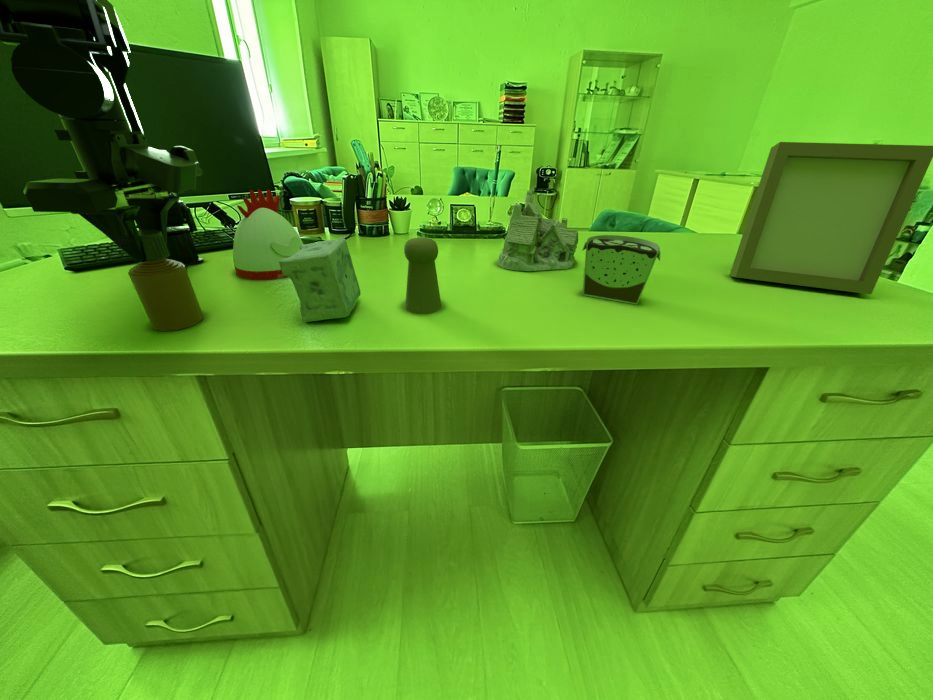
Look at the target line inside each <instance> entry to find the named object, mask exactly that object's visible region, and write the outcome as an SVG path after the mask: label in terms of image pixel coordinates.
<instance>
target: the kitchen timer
mask: <svg viewBox="0 0 933 700" xmlns="http://www.w3.org/2000/svg"><path fill="white" fill-rule="evenodd" d="M249 197H250V200H249V199H248V198H247V197H242V201H243V203H245V206H246V209H247V210H246V209H244V207H242V206H241V205H238V204H237V205H236V208H237V209H238V210H239V212H240V213H241V215H242V218H241V219H240V221H239V223H238V225H237V227H236V230H235V232H234V236H233V246H232V262H233V266H234V270H235V274H236V275H237V276H238V277H240V278H242V279H245V280H246V279H247V280H253V281H268V280H278V279H286V278H289V277H288V276H284V275H283V273H282V270H281V268H280V264H279V260H280V259H282V258H289V257H291V256H292V255H294V253H296V252H298V251H300V250H301V249H300V247H299V246H300V245H302V244H304V242H303V240H302V239H301V237H300V234H299V233H298V231H297V230H296V228H295V227H294V226H293V225H292V223H290V222H289V221H288V220H287V219H286V218H285V217H284V216H282V215H281V214H279V213H278V210H279V205H280V196H279V195H275V197H274V196H273V192H272V190H271V189H266V197H265V194H264V193H263V191H262V190H261V189H257V195H256V193H255V191H254V190H252V189H251V190H249Z"/></svg>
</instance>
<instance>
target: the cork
mask: <svg viewBox="0 0 933 700" xmlns="http://www.w3.org/2000/svg"><path fill="white" fill-rule="evenodd" d="M403 251H404V252H403V253H404V256H405V259H406V260H407V261H408V263H407V266H408V267H407V276H406V289H405V290H406V291H405V302H404V303H405V305H404V306H405V307H404V308H405V309H406V311H408V312H410V313H413V314H422V315H423V314H431V313H435V312H438V311H439V310H441V308H443V307H442V301H441V293H440V287H439V281H438V275H437V268H436V266H437V265H436V259H437V258H438V255H439V247H438V244H437V242H436V241H435V240H434V239H432V238H429V237H413V238H410V239H408V240H406V242H405V244H404V247H403Z"/></svg>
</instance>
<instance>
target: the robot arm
mask: <svg viewBox="0 0 933 700" xmlns="http://www.w3.org/2000/svg"><path fill="white" fill-rule="evenodd" d="M0 42H1V43H3V44H5V45H7V46H14V47H15V48H14V49H13V50H12V54H11V58H10V63H11V72H12V75H13V77H14V79H15V80H16V81H15V82H17V84H18V85H19V87H20V88H21V89H22V91H24V93H25V94H26V95H27V96H28V97H29V98H30V99H32V101H34V102H36V103H37V104H38V105H39V106H41V107H43V108H45V109H46V110H47V111H50V112H52V113H55V114H57V115H58V116H59V118H60V121H61V124H62V125H63V128H64V129H54V132H55V134H56V137H57V139H58V140H59V141H67V142H68V141H69V142H70V143H71V145H72V147H73V149H74V152H75V154H76V156H77V159H78V161H79V163H80V165H81V167H82V168H81V169H82V170H78V171H77V170H76V171H73V173H74V176H75V177H76V178H49V179H41V180H33V181H27V182H26V184H25V185H24V188H23V194H24V196H25V198H26V200H27V202H28V204H29V205H30V208H31V209H32V211H33V212H34V213H70V214H72V215H79V216H81V217H82V219H84V220H85V221H87V222H88V223H90V224H91V225H92V226H93V227H94V228H96V229H97V230H99V231H100V232H101V233H102V234H103V235H105V236H106V237H107V238H108V239H110V241H112V242H113V243H114V244H115V245H116V246H118V247H119V248H120V249H121V250H122V251H123V252H124V253H125V254H127V256H129V257H130V258H131V259H132V260H133V261H135V262H136V263H139V262H145V261H146V256H145V252H144V248H143V245H142V242H141V239H140V236H139V233H138V230H160V231H161V233H162V235H163V237H164V239H165V242H166V244H167V247H168V250H169V252H170V256H168V257H166V258H167V259H171V260H175V261H178V262H181V263H182V264H184V265H185V266H189V265H194V264H198V263H202V262H204V258H202V257H199V254H198V252H197V251H198V250H197V248H196V246H195V242H194V240H193V237H192V234H194V232H198V227H197V224H196V221H195V218H194V216H193V213H192V211H191V208H190V207H188V206H187V204H185V202H184V201H183V200H180V196H179V195H178V194H183V193H188V192H193V191H196V189H197V177H200V176H203V174H204V171H203V169H202V168H201V167H200V162H199V160H198V158H197V155H196V153H195V151H194V149H191V148H188V147H186V146H183V145H173V146H172V147H171V148H170V150H169V151H168V150H166V149H157V148H154V147H152V146H150V144H149V142H148V139H147V138H146V135H145V133H144V130H143V127H142V125H141V121H140V120H139V117H138V114H137V112H136V108H135V106H134V103H133V101H132V99H131V98H132V97H131V95H130V93H129V90H128V87H127V84H126V81H127V77H128V73H129V70H130V69H129V68H130V61H129V59H128V55H127V53H128V54H129V53H131V50H130V46H129V43H128V40H127V38H126V35H125V32H124V30H123V27H122V24H121V22H120V20H119V17H118V15H117V12H116V9H115V6H114V5H113V4H112V3H111V2H110V1H109V0H0ZM126 196H127V197H126Z"/></svg>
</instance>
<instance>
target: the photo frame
mask: <svg viewBox="0 0 933 700" xmlns="http://www.w3.org/2000/svg"><path fill="white" fill-rule="evenodd" d="M932 160H933V145H924V144H923V145H921V144H920V145H917V144H882V143H881V144H880V143H879V144H878V143H844V142H843V143H842V142H841V143H839V142H837V143H836V142H803V141H802V142H797V141H796V142H795V141H779V142H777V143H776V144H774V145H773V146H772V147H770V150H769V152H768V156H767V159H766V163H765V165H764V168H763V171H762V175H761V177H760V180H759V182H758V183H759V184H758V187H757V189H756V193H755V196H754V198H753V202H752V205H751V208H750V211H749V214H748V216H747V219H746V220H747V221H746V223H745V226H744V230H743V233H742V236H741V239H740V242H739V245H738V248H737V251H736V254H735V257H734V260H733V263H732V267H731V269H730V273H729V276H730V277H733V278H738V279H747V280H753V281H762V282H769V283H777V284H778V283H779V284H786V285H794V286H803V287H808V288H809V287H810V288H816V289H818V288H819V289H825V290H834V291H841V292H848V293H849V292H850V293H855V294H857V293H858V294H866V295H872V294H873V291H874V289H875V288H876V286H877V283H878V280H879V278H880V277H881V274H882V272H883V269H884V267H885V265H886V262H887V261H888V258H889V256H890V253H891V251H892V249H893V247H894V245H895V242H896V240H897V238H898V236H899V233H900V231H901V229H902V227H903V225H904V223H905V220H906V218H907V217H908V215H909V211H910V209H911V206H912V204H913V202H914V200H915V198H916V196H917V194H918V192H919V189H920V187H921V184H922V183H923V180H924V178H925V176H926V173H927V172H928V169H929V167H930V165H931V162H932Z"/></svg>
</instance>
